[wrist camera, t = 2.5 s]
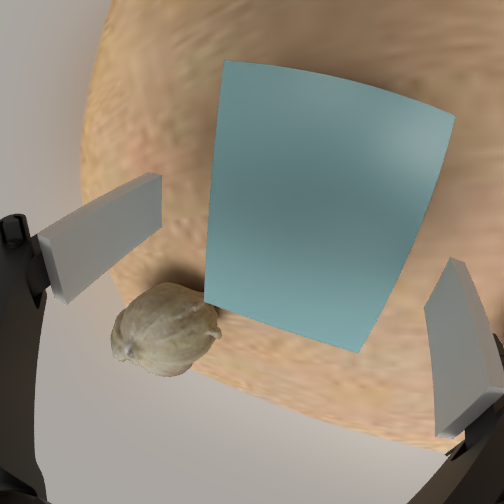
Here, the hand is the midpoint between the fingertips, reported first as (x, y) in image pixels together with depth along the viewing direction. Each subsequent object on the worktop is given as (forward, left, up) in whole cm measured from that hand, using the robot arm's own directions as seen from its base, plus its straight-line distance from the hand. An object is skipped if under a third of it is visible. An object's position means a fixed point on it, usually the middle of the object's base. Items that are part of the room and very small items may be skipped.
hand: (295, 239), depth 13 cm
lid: (0, 0, -3) cm, 3 cm away
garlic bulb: (+14, -9, -8) cm, 19 cm away
